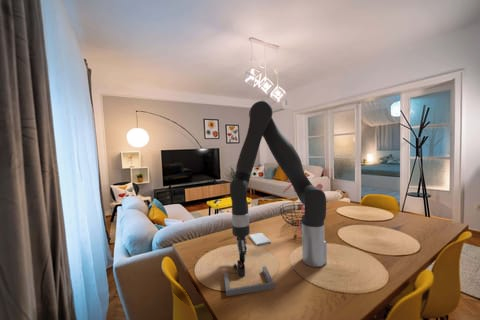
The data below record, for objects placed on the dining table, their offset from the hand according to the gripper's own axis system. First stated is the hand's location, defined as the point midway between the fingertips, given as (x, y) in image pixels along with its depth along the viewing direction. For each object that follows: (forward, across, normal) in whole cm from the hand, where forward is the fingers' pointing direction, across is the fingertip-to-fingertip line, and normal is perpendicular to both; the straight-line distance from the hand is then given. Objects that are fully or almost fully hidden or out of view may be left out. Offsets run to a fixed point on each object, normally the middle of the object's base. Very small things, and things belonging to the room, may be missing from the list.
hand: (242, 261), depth 88 cm
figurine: (+2, +26, -40) cm, 48 cm away
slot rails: (+2, -11, 0) cm, 12 cm away
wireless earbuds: (+2, -4, +2) cm, 5 cm away
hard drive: (+2, +22, -13) cm, 25 cm away
